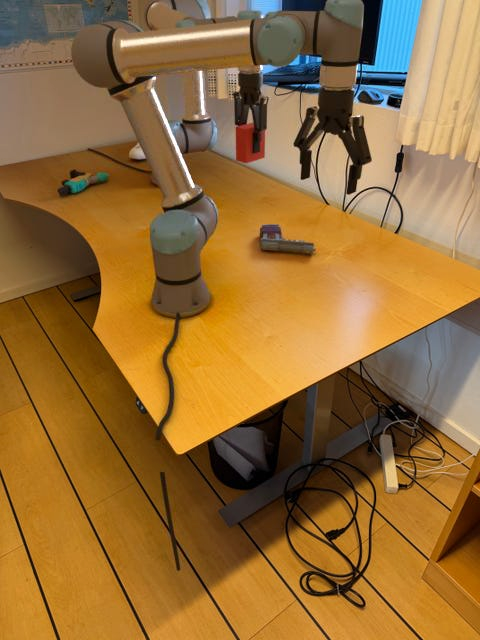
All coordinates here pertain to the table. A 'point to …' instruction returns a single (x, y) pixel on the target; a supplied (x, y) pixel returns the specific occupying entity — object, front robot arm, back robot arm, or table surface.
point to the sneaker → (137, 153)
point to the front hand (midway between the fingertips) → (327, 185)
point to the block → (248, 144)
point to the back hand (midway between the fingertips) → (250, 150)
